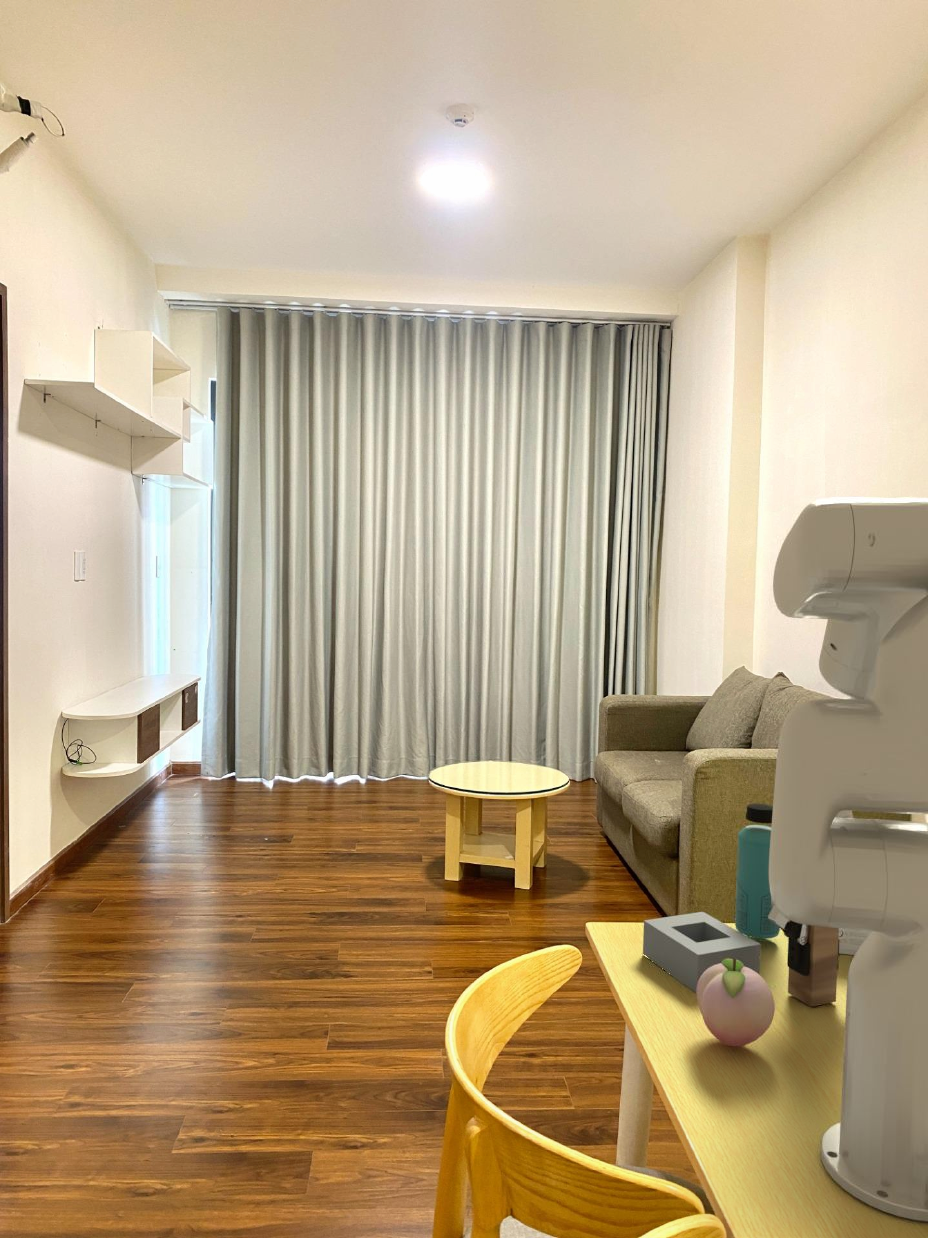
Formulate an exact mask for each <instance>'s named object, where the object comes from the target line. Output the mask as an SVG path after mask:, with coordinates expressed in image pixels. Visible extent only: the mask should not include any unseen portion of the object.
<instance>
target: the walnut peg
mask: <svg viewBox="0 0 928 1238" xmlns="http://www.w3.org/2000/svg"><path fill="white" fill-rule="evenodd" d="M799 924H800V923H796V927H797V928H798V929H799ZM838 940H839V928H831V927H822V926H812V925H810V927H809V933H808V938H807V942H806V943H808V944H810V966H809V975H807V976H803V975H801V974H800V973H798V972H796V971H794V970H792V969H791V968H789V967H788V976H787V977H788V980H787V983H788V984H787V994H790V995H791V996H792V997H794V998H797V999H798V1000H800V1001H801V1002H802V1003H805V1004H806V1005H807V1006H810V1007H815V1006H819V1005H820V1006H821V1005H826V1004H830V1003H835V1002H837V984H838V983H837V982H838V970H837V964H838ZM838 965H839V964H838Z"/></svg>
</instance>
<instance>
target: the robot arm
mask: <svg viewBox="0 0 928 1238" xmlns="http://www.w3.org/2000/svg"><path fill="white" fill-rule="evenodd" d="M772 578H773V579H772V582H773V583H772V591H773V593H772V594H773V597H774V603H775V604H776V605H775V606H776V607H777V609H778V611H779V612H780V613H781V614H783V615H784V617H785V616H786V617H788V618H793V619H813V620H827V622H826V626H825V631H824V636H823V640H822V646H821V651H820V654H819V659H818V667H819V668H818V669H819V672H820V675H821V676H822V678H823V679H824V680H825V682H826V683H827V684H829V686H830V687H832V688H833V689H834V690H835V691H837V692H839V693H841V694H843V695H844V696H846V697H849V698H850V699H848V698H847V699H843V698H816V699H809V700H805V701H803V702H800V703H798V704H797V705H795V706H794V707H793V708H792V709H791V710H790V711H789V712H788V714H787V715H786V718H785V719H784V722H783V725H782V728H781V731H780V735H779V740H778V744H777V745H778V747H777V753H776V764H775V777H774V789H773V790H774V791H773V803H772V806H773V814H772V823H771V826H770V827H771V839H770V853H769V885H770V893H771V903H772V907H773V908H772V910H771V912H770V914H769V916H768V919H769V920H770V921H771V922H773V923H774V924H776V925H777V926H779V927H780V931H782V932H783V935H784V937H786V938H787V939H788V940H787V941H788V944H787V967H788V969H789V968H791V969H792V970H794V971H796V972H798V973H800V974H801V975H803V976H807V975H809V966H810V944H808V943H806V942H807V938H808V933H809V927H810V925H812V926H822V927H831V928H839V938H842V937H843V936H844V929H856V930H868V931H872V932H871V934H870V935H869V936H868V937H867V938H866V939H865V941H864V942H863V943H862V945H861V946H860V947H859V949H858V950H857V952H856V954H855V955H853V958H852V960H851V962H850V964H849V968H848V971H847V982H846V998H845V1020H844V1042H843V1058H842V1060H843V1061H842V1062H843V1063H842V1081H841V1082H842V1083H841V1100H840V1101H841V1103H840V1106H841V1107H840V1122H838V1123H835V1124H833V1125H832V1126H830V1127H828V1129H826V1130H825V1132H823V1134H822V1137H821V1140H820V1158H821V1163H822V1164H823V1166H824V1168H825V1170H826V1172H827V1173H828V1174H829V1175H830V1177H831V1178H832V1180H834V1181H835V1183H836V1184H838V1185H839V1186H840V1187H841V1188H842V1189H843V1190H845V1191H846V1192H848V1193H849V1194H850V1195H851V1196H853V1197H855V1199H858V1200H859V1201H861V1202H863V1203H865V1204H867V1205H868V1206H870V1207H872V1208H875V1209H878V1210H879V1211H881V1212H884V1213H886V1214H891V1215H892V1216H896V1217H900V1218H904V1219H907V1220H908V1219H909V1220H912V1221H920V1222H928V822H921V821H910V820H896V819H895V820H893V819H881V818H880V819H877V818H855V817H854V814H853V811H854V812H855V811H856V812H858V811H859V812H871V813H873V812H874V813H886V814H887V813H890V814H902V815H903V814H906V815H928V497H899V498H898V497H896V498H894V497H893V498H892V497H891V498H890V497H889V498H888V497H885V498H883V497H881V498H880V497H830V498H822V499H817V500H815V501H813V502H810V503H809V504H808V505H806V506H805V507H804V508H803V510H802V511H801V512H800V513H799V516H798V517H797V519H796V520H795V522H794V524H793V525H792V527H791V528H790V531H788V533H787V534H786V537H785V538H784V540H783V543H782V545H781V547H780V550H779V552H778V555H777V557H776V562H775V565H774V571H773V577H772ZM796 923H800V924H799V929H798V928H797V927H796ZM839 941H840V940H838V964H837V971H838V970H839V965H840V964H839V961H840V959H839V958H840V954H839Z"/></svg>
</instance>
